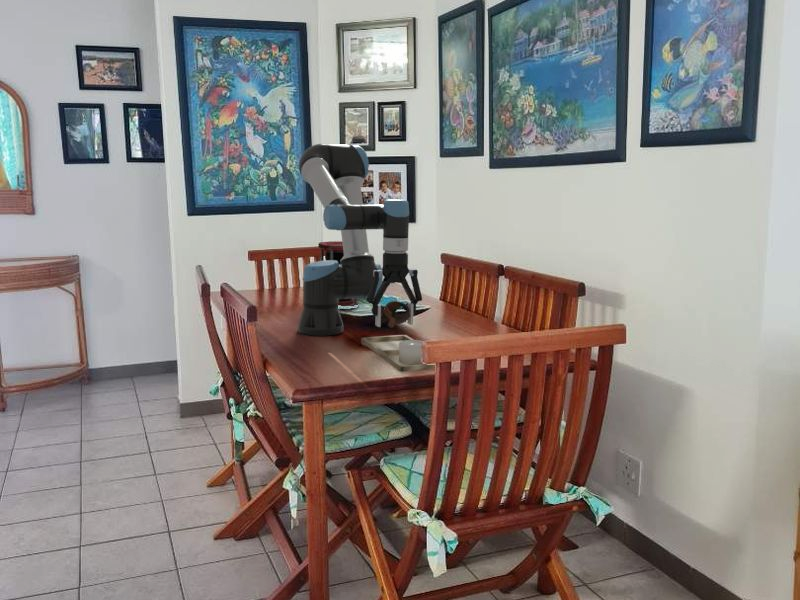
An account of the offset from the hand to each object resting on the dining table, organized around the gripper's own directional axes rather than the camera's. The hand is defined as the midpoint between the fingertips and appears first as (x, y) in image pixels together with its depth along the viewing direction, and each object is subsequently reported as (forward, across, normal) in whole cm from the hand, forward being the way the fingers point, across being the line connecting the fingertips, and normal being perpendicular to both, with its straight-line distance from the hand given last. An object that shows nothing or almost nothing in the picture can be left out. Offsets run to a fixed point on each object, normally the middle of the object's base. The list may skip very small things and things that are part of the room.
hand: (394, 324), depth 222 cm
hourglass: (+7, +3, +70) cm, 70 cm away
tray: (+8, 0, -8) cm, 11 cm away
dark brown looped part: (0, -1, +2) cm, 2 cm away
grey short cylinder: (+7, 0, -17) cm, 18 cm away
